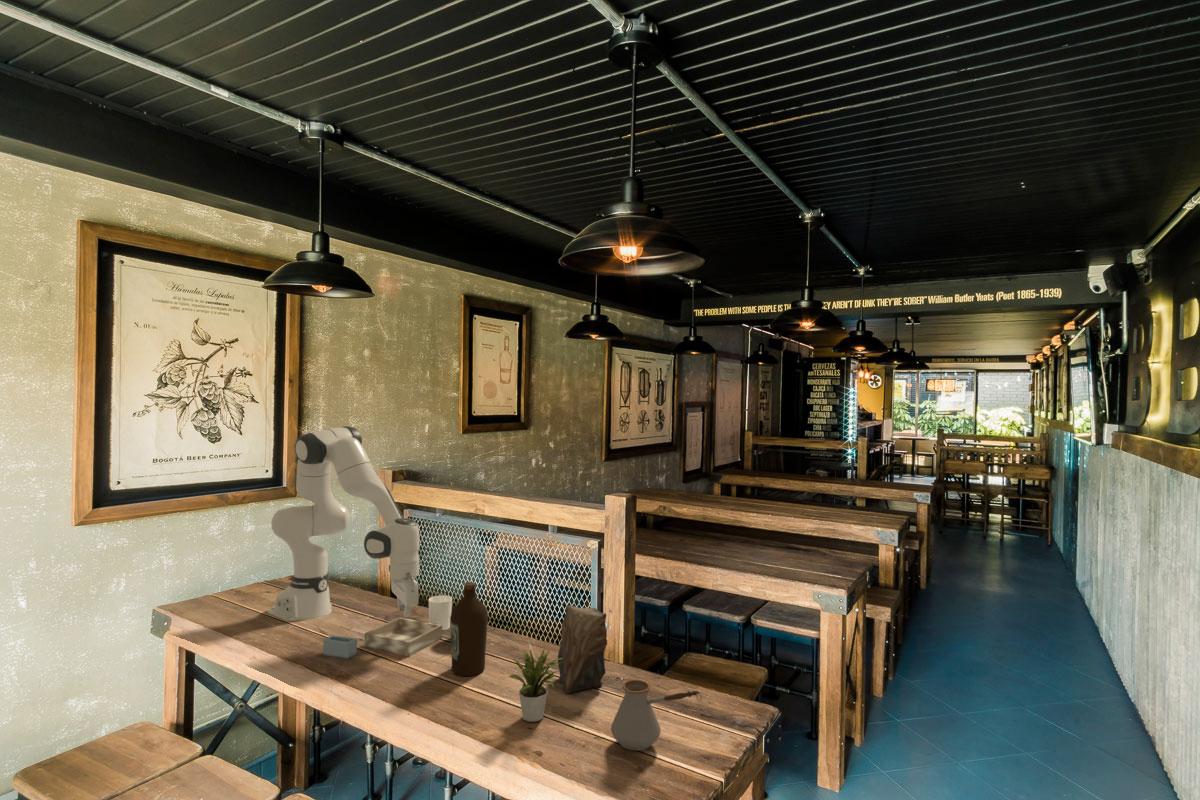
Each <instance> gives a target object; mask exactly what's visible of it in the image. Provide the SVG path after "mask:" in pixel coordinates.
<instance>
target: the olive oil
mask: <svg viewBox="0 0 1200 800" xmlns="http://www.w3.org/2000/svg"><path fill="white" fill-rule="evenodd" d="M463 586H464V587H463V597H462V598H461V599H460V600H459V601H458V602H457V603H456V604H455V606H453V607H452V611H451V618H450V623H451V636H450V641H451V642H450V643H451V644H450V645H451V650H450V651H451V672H452V674H454V675H456V676H459V677H473V676H476V675H479V674H481V673H483V672H484V670H485V669H486V652H487V651H486V650H487V649H486V648H487V636H488V635H487V634H488V617H489V615H488V614H489V613H488V610H487V608H486V606H485V604H484V603H483V602H482V601H481V600H480V599H479V598H478V597H477V596H476V583H475V582H472V581H468V582H465V583H464V584H463Z"/></svg>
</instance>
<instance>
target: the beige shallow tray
mask: <svg viewBox="0 0 1200 800" xmlns="http://www.w3.org/2000/svg"><path fill="white" fill-rule="evenodd" d="M442 639H443V630H442V625H438V624H432V623H430V622H428V621H427V622H425V621H420V620H416V619H409V618H406V617H405V618H404V617H397V618H396V619H395V618H394V619H393V620H391V621H389V622H387V623H384V624H382V625H380V626H378V627H376V628H373V629H371V630H369V631H367V632H364V642H363V643H364V648H368V649H374V650H377V651H378V650H379V651H381V652H382V651H383V652H386V653H391V654H396V655H401V656H405V657H409V658H410V657H412V656H413V655H415V654H417V653H419V652H422V650H424V649H426V648H428V647H430V646H431V645H433V644H435V643H437V642H439V641H440V640H442Z"/></svg>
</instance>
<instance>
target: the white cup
mask: <svg viewBox="0 0 1200 800" xmlns="http://www.w3.org/2000/svg"><path fill="white" fill-rule="evenodd" d="M452 605H453V597H452V596H449V595H445V594H444V595H435V596H431V597H429V598H428V619H429V623H432V624H438V625H442V631H446V630H448V629H449V630H450V616H451V613H452V610H453V606H452Z"/></svg>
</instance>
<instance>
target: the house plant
mask: <svg viewBox="0 0 1200 800" xmlns="http://www.w3.org/2000/svg"><path fill="white" fill-rule="evenodd" d="M550 651H551V650H548V651H547V652H545V649H543V651H542V652H541V654H540V655H539V657H538V659H537V661H536V663H535V660H534V657H533V652H532V649H530V650H529V654H528V651H527V650H526V649H524V648H523V659H524V661H521V662H524V666H523V665H522V664H521V662H520V661H518V660H517V659H516V658H512V660H513V661H514V662H515V663H516V665H517V666H518V667H517V666H515V668H517V670H519V671H520V673H521V675H522V676H523V677H524V679H525V680H524V679H523V678H522V677H521V676H519V675H517V674H510V675H508V678H512V679H515V680H517V681H520V682H521V683H522V685H521V686H522V687H521V688H520V689H519V690H518V696H519V701H520V708H521V714H522V719H523V720H524V721H526V722H529V723H530V722H538V721H541V720H542V719H543V718H544V714H545V708H546V702H547V696H548V691H549V690H548V688H546V687H545V686H546V685H547V684H548V685H551V686H552V687H553V688H555V685H554V683H553V681H551V680H549V679H552V678H555V677H557V675H556V673H560V671H559V670H558V671H552V670H549V669H550V668H551V667H552V668H555V666H554V665H558V664H559V662H558V660H560V659H563V658H559V659H558V658H556V659H554V660H552V661H550V662H549V663H548V664H547V665H545V663H546V662H547V657H548V655H549V654H550ZM544 665H545V666H544ZM519 668H520V669H519ZM547 674H548V675H547ZM544 676H545V677H544Z"/></svg>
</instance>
